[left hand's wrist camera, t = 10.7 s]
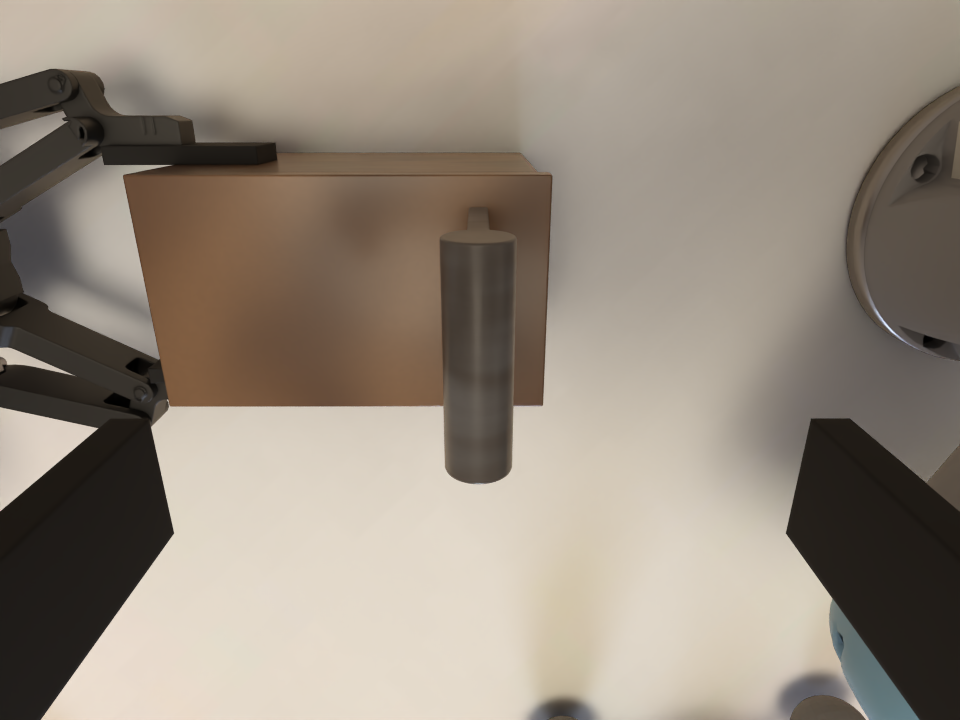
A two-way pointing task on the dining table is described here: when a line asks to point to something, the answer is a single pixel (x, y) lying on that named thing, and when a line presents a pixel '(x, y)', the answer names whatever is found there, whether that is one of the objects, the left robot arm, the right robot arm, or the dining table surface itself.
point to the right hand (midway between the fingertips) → (280, 266)
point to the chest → (374, 163)
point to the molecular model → (809, 710)
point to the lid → (353, 294)
